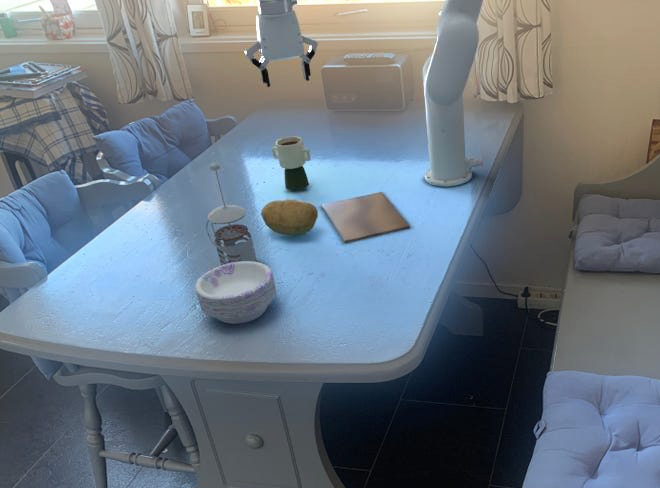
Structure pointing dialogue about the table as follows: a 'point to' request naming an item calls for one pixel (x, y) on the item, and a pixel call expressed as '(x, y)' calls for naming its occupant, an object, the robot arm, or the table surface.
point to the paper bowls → (236, 291)
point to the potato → (289, 216)
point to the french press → (230, 232)
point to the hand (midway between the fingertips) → (287, 82)
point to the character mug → (292, 161)
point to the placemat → (364, 217)
